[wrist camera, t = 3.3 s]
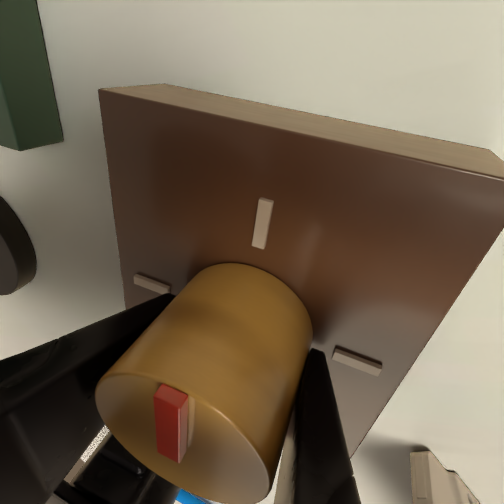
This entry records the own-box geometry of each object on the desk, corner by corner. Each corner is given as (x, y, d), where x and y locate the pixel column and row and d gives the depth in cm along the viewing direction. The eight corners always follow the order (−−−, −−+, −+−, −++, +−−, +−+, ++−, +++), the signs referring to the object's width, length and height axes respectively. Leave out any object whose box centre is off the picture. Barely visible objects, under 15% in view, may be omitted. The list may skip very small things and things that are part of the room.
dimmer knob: (296, 386, 11) (250, 544, 7) (186, 340, 12) (98, 459, 8) (330, 291, 8) (287, 458, 5) (188, 243, 9) (64, 353, 6)
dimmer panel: (351, 403, 15) (343, 473, 12) (169, 328, 17) (131, 374, 15) (490, 149, 8) (537, 187, 6) (163, 83, 10) (92, 88, 8)
